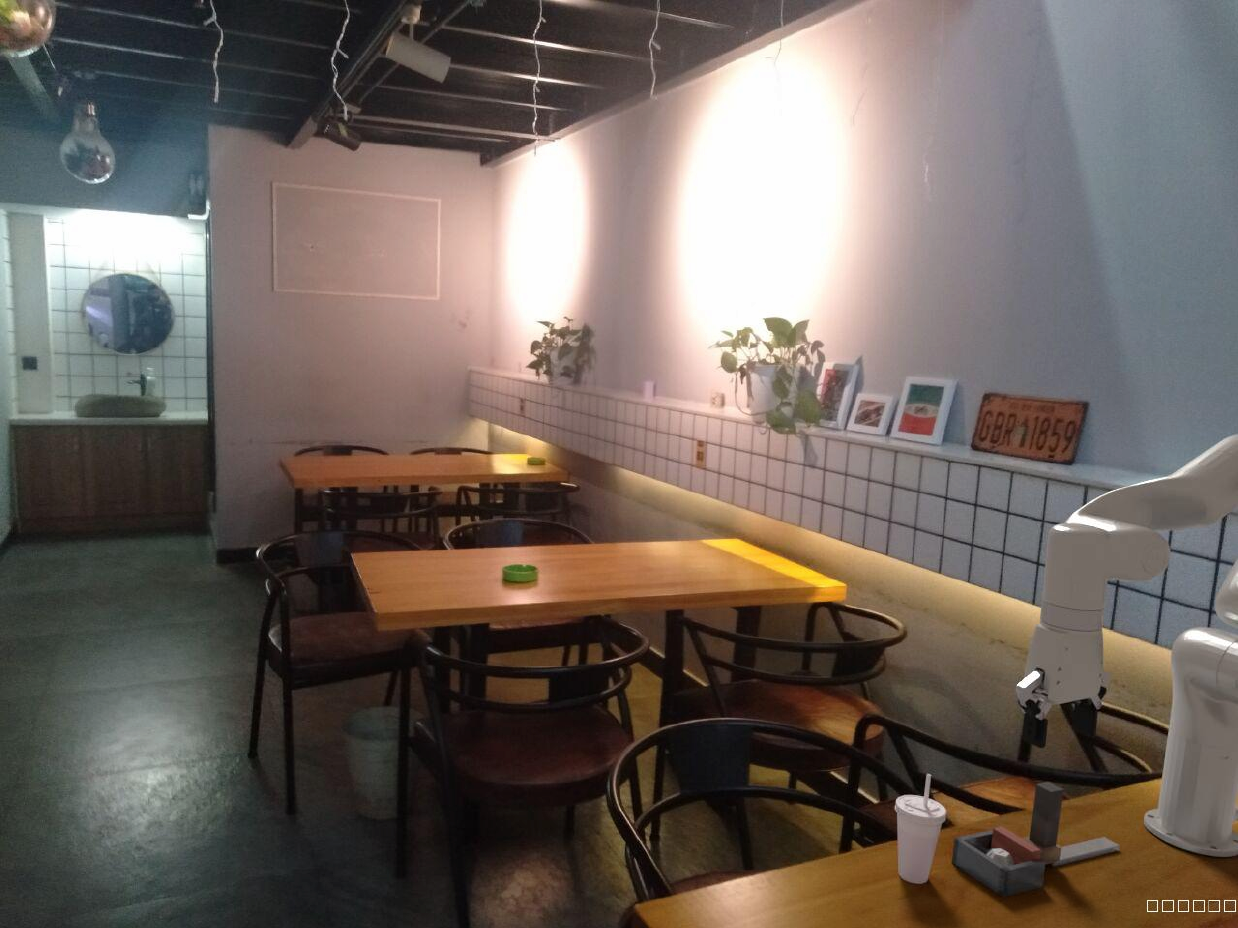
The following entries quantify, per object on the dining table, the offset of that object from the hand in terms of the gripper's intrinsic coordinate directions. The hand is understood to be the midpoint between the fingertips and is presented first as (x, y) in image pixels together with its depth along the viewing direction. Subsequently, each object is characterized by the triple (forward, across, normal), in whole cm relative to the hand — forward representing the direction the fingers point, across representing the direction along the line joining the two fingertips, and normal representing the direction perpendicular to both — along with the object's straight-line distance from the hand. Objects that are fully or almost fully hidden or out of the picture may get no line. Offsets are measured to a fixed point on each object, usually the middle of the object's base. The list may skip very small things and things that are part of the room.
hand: (1058, 738), depth 124 cm
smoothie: (+17, +21, -4) cm, 27 cm away
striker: (+17, +3, 0) cm, 17 cm away
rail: (+18, -7, 0) cm, 19 cm away
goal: (+18, +9, 0) cm, 20 cm away
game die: (+18, +9, 0) cm, 20 cm away
